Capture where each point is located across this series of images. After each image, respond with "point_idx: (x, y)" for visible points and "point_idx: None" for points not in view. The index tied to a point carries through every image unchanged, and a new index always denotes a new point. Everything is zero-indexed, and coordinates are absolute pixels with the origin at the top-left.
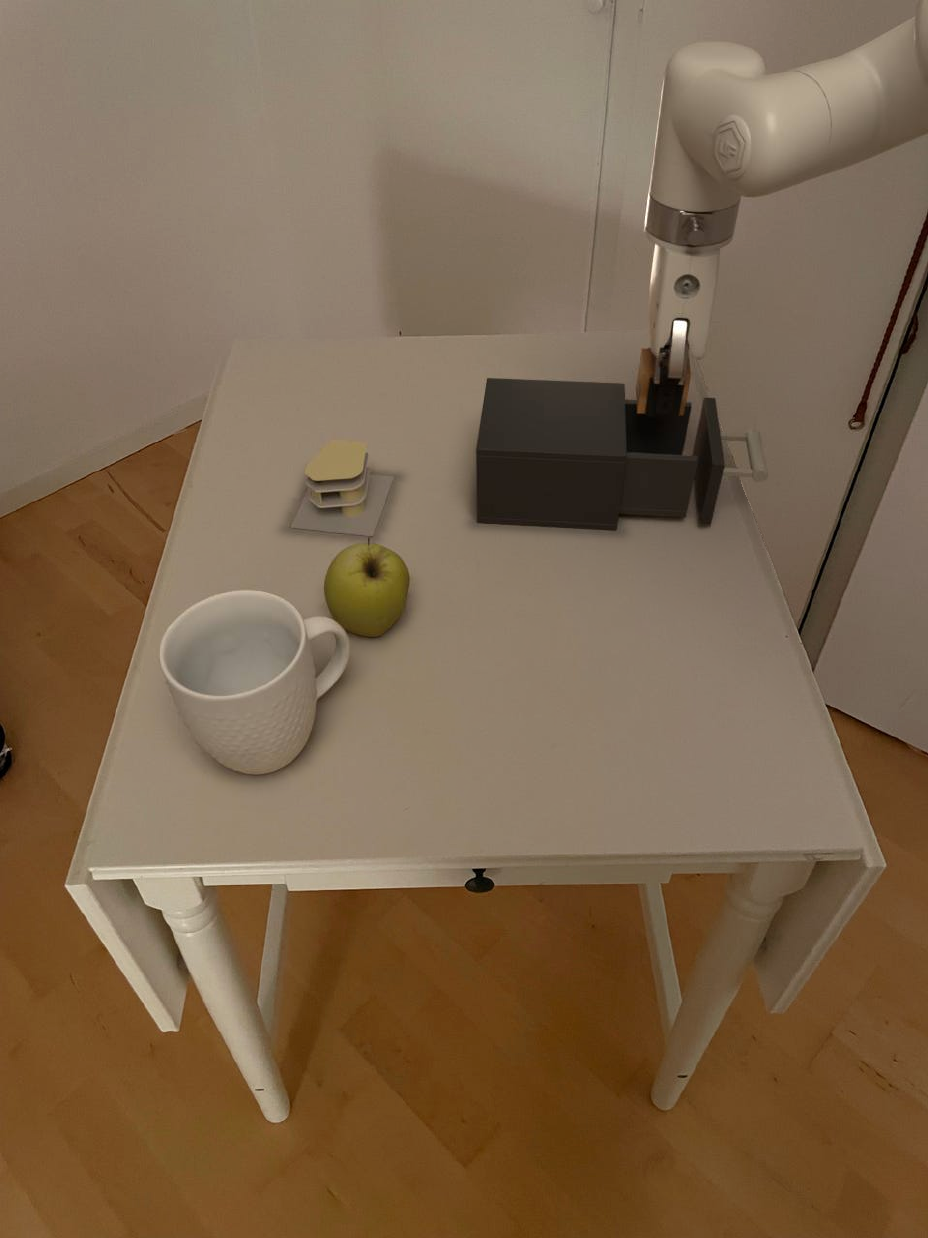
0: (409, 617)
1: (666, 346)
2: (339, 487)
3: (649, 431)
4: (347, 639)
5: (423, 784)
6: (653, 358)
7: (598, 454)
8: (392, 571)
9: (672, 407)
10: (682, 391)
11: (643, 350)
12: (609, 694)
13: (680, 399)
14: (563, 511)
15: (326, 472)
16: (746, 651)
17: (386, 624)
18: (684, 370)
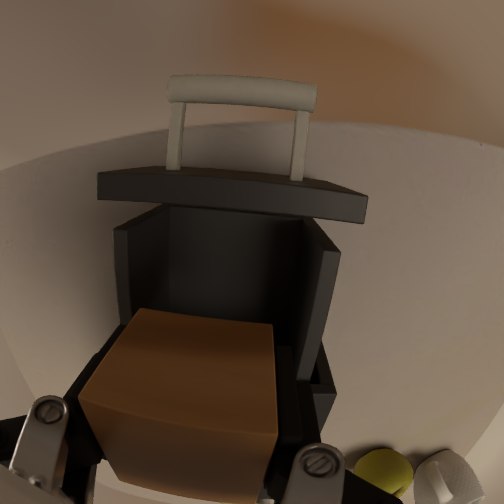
0: (381, 441)
1: (92, 447)
2: (268, 501)
3: (154, 282)
4: (443, 480)
5: (487, 403)
6: (167, 482)
7: (323, 425)
8: (401, 485)
9: (312, 394)
10: (299, 409)
11: (130, 482)
12: (492, 318)
13: (295, 387)
14: None
15: None
16: (491, 192)
17: (405, 458)
18: (338, 501)
